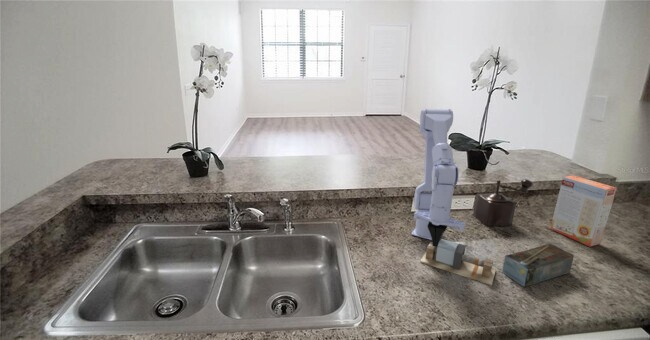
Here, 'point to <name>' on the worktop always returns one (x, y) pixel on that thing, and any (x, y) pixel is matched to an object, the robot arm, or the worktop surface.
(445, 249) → the sleeve
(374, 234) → the worktop surface
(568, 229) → the cracker box
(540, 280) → the beverage carton
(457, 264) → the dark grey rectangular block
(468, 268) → the pipe stand
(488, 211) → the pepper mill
